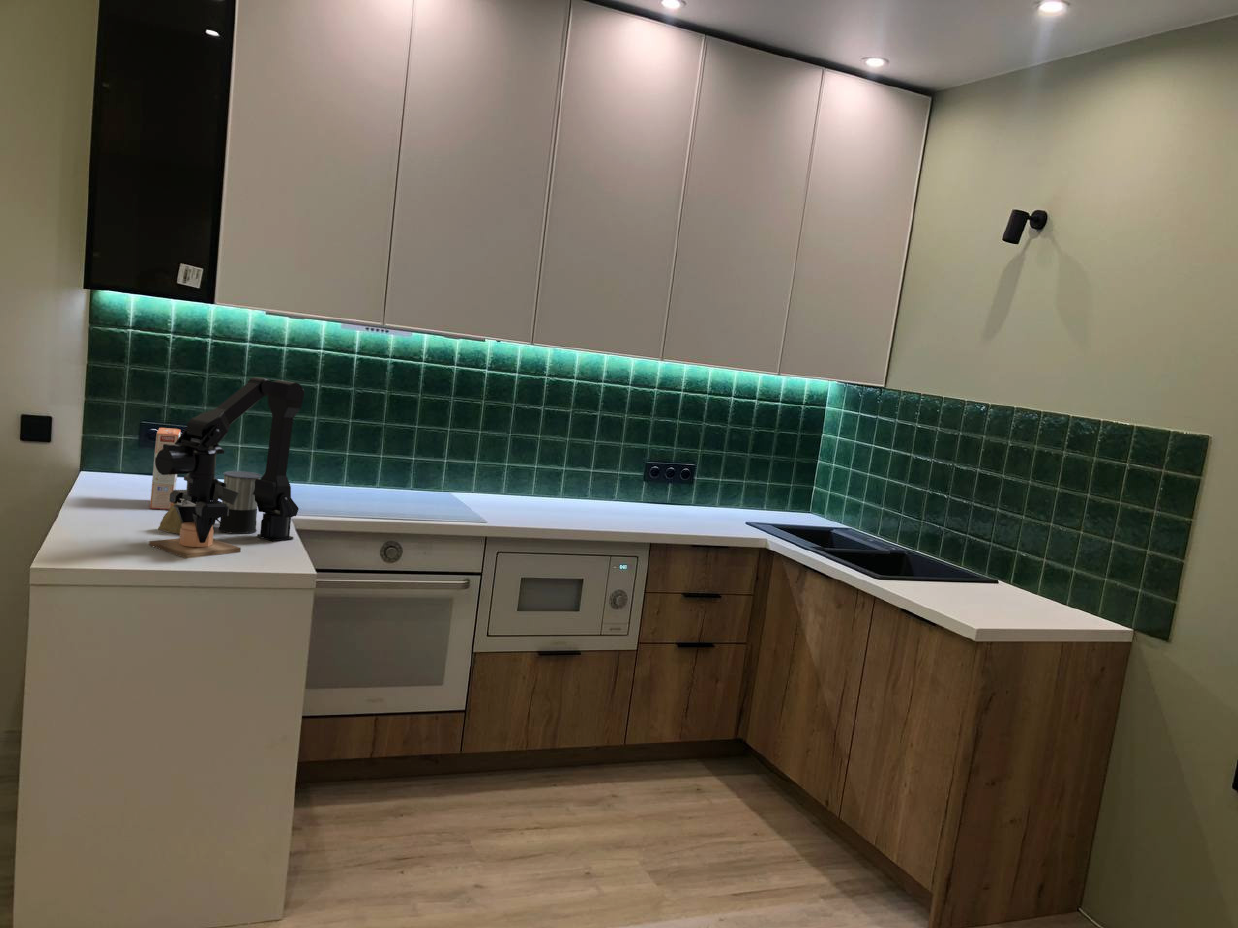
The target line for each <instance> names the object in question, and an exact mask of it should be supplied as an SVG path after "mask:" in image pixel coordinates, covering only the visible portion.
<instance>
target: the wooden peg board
mask: <svg viewBox="0 0 1238 928" xmlns="http://www.w3.org/2000/svg"><path fill="white" fill-rule="evenodd" d="M179 538H180V537H178V538H170V539H169V538H167V539H166V538H165V539H157V540H149V542H148V546H149V545H151V546H150V547H152V546H154V547H153V548H155V547H157V548H156V549H158V548H160V549H159V550H161V549H162V550H161V551H164V550H165V551H164V552H167V553H170V554H173V555H176V556H179V557H182V558H184V559H191V558H200V557H210V556H218V555H225V554H235V553H241V547H240V546H237V545H234V544H230V543H227V542H223V541H221V540H218V539H214V538H213V543H212V545H210V546H208V547H189V546H183V545H181V544H179Z"/></svg>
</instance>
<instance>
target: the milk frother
mask: <svg viewBox="0 0 1238 928" xmlns="http://www.w3.org/2000/svg"><path fill="white" fill-rule="evenodd" d="M222 475H224V476H223V477H224V478H223V483H226V487H227V488H228V489H231V490H233V491H236V492H238V493H239V494H238V496H237V498H236V501H235V503H234V505H232V504H229V503H227V502H225V501H222V500H221V502H223V503H225V504H226V505H227V506H228V507H229V516H222V517H221V518H218V519H217V520H215V521H214V523H213V526H214V525H215V523H216V522H217V523H219V526H218V527H217V528H218V531H221V532H223V533H226V534H227V533H229V534H235V535H237V534H239V535H240V534H241V535H244V534H254V533H256V532H257V530H258V529H257V514H258V506H257V503H256V502H255V495H253V492H254V489H255V480H256V479H261V478H262V474H260V473H256V472H251V471H242V470H230V471H229V470H228V471H224V472H223V473H222Z"/></svg>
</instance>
